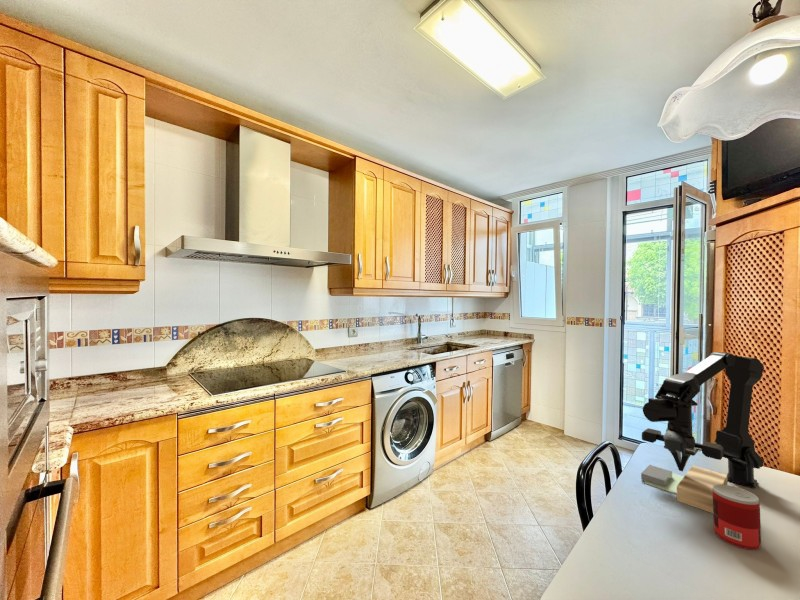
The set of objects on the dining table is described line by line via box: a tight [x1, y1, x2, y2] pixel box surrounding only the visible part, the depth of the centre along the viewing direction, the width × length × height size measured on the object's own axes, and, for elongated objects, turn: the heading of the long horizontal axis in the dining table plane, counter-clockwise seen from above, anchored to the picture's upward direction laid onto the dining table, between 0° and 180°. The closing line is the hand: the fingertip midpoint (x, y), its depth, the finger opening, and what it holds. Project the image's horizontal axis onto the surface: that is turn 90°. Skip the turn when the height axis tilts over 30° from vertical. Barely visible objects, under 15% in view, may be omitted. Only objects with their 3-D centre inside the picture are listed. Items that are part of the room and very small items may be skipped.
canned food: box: [712, 484, 762, 551], centre depth 79 cm, size 8×8×11 cm
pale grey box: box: [640, 464, 673, 487], centre depth 106 cm, size 9×6×2 cm, turn 129°
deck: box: [676, 465, 728, 514], centre depth 98 cm, size 20×8×4 cm, turn 128°
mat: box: [643, 472, 685, 495], centre depth 105 cm, size 14×9×1 cm, turn 128°
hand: (681, 470), depth 101 cm, fingers closed
